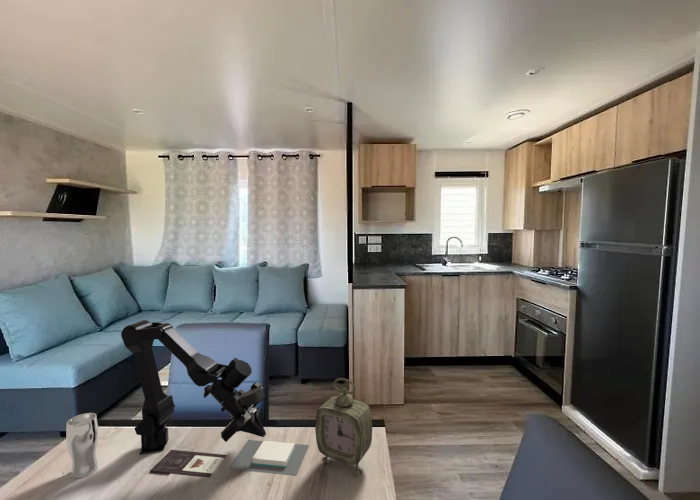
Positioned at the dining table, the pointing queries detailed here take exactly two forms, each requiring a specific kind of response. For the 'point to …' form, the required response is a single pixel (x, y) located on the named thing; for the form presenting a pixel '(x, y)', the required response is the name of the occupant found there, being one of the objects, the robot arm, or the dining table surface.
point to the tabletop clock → (344, 428)
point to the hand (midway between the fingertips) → (264, 435)
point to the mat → (245, 463)
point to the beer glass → (82, 444)
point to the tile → (273, 454)
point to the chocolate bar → (188, 463)
